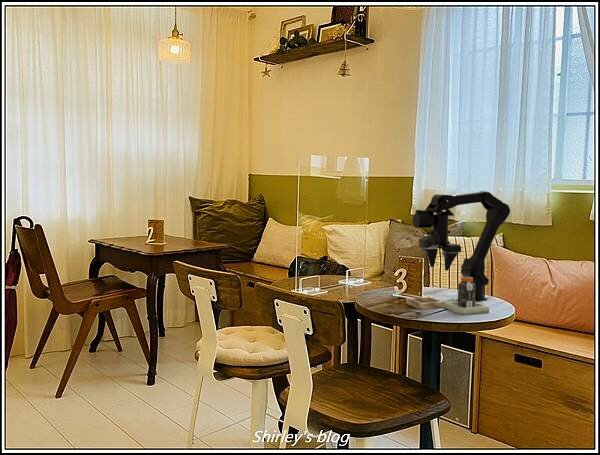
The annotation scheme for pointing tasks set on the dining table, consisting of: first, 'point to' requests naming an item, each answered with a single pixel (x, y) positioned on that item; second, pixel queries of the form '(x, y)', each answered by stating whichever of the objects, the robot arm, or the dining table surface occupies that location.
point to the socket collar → (425, 302)
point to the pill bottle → (466, 292)
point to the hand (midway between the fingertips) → (439, 268)
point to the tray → (471, 310)
